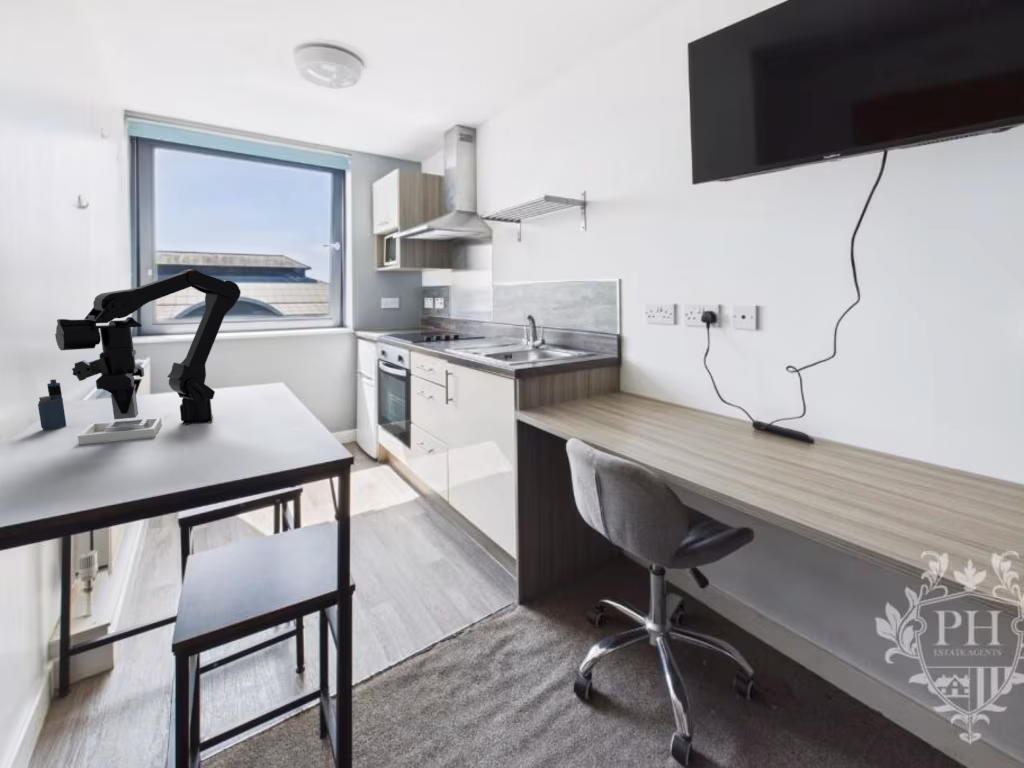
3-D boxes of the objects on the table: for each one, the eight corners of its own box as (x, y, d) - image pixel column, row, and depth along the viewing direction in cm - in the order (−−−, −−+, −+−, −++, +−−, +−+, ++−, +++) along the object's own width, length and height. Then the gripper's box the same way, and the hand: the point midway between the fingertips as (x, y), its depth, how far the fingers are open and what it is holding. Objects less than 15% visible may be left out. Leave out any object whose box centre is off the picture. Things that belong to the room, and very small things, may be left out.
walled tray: (161, 425, 127) (161, 417, 127) (155, 436, 117) (154, 428, 117) (92, 431, 121) (91, 423, 120) (78, 444, 110) (77, 435, 110)
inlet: (149, 427, 124) (148, 418, 124) (144, 434, 118) (143, 425, 117) (112, 430, 121) (111, 421, 120) (105, 438, 114) (104, 428, 114)
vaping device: (69, 425, 126) (62, 379, 124) (48, 430, 120) (41, 382, 118) (60, 425, 126) (53, 378, 124) (39, 430, 121) (31, 382, 119)
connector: (138, 414, 121) (134, 386, 120) (135, 417, 118) (131, 389, 117) (117, 415, 119) (114, 388, 118) (114, 419, 116) (110, 391, 115)
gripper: (84, 344, 120) (93, 407, 122) (60, 352, 104) (71, 424, 106) (140, 343, 125) (148, 403, 128) (126, 350, 109) (135, 419, 112)
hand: (126, 411), depth 118 cm, fingers closed on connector, 4 cm apart
